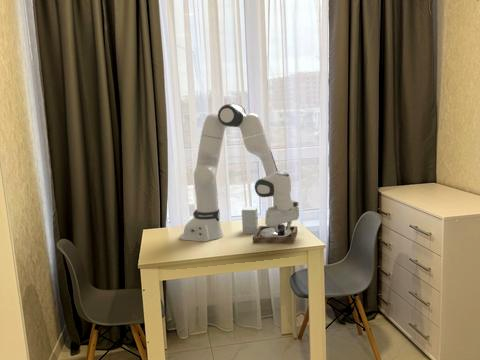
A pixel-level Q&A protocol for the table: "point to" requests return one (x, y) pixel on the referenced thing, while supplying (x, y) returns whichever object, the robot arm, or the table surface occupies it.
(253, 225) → the supplement box
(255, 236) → the dial housing
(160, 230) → the table surface
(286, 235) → the dial
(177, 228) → the table surface
